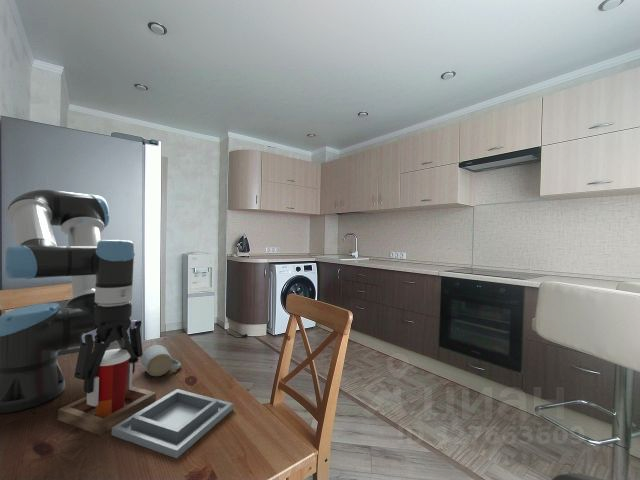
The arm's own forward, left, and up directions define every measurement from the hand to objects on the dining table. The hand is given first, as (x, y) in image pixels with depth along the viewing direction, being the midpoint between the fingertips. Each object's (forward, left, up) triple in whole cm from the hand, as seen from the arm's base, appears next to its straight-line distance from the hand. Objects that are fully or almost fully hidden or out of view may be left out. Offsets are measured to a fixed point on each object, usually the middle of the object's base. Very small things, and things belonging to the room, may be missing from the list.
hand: (110, 395), depth 72 cm
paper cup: (0, 0, -4) cm, 4 cm away
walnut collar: (0, 0, -4) cm, 4 cm away
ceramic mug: (-6, +21, -4) cm, 22 cm away
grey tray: (+18, +3, -4) cm, 19 cm away
